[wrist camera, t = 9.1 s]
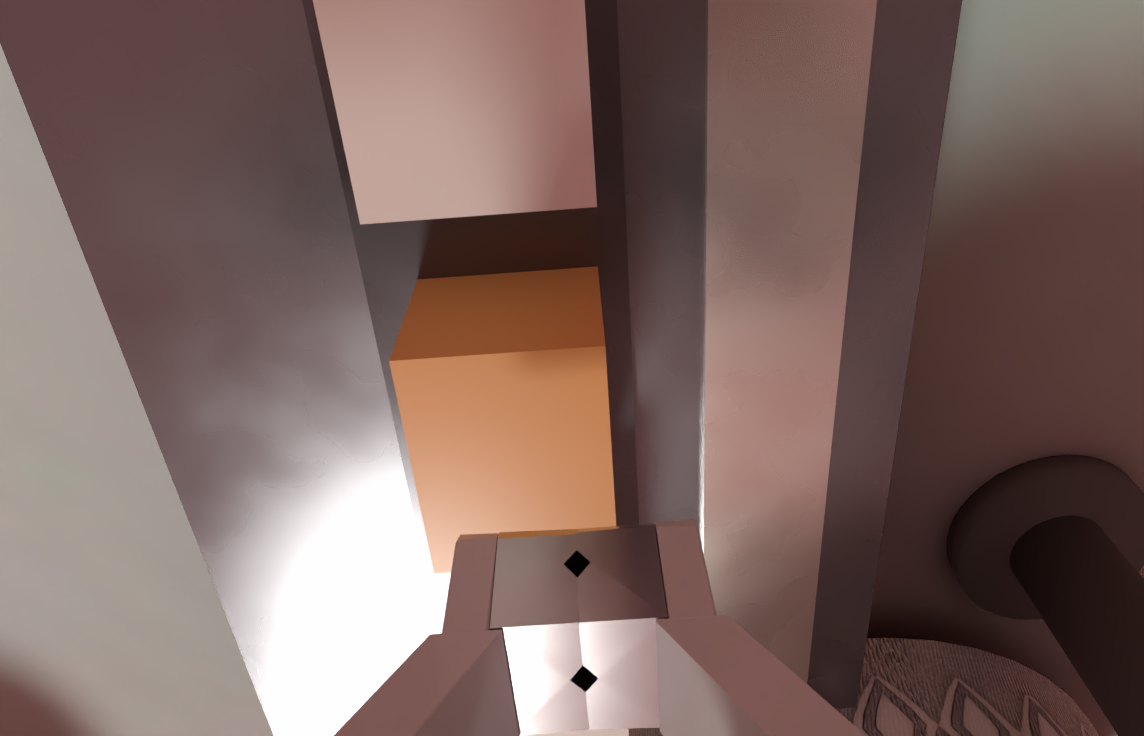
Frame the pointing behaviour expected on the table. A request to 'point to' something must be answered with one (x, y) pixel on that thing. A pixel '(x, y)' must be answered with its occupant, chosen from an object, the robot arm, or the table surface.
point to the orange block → (506, 404)
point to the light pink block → (461, 105)
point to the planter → (953, 694)
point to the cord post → (1065, 568)
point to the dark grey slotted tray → (506, 245)
